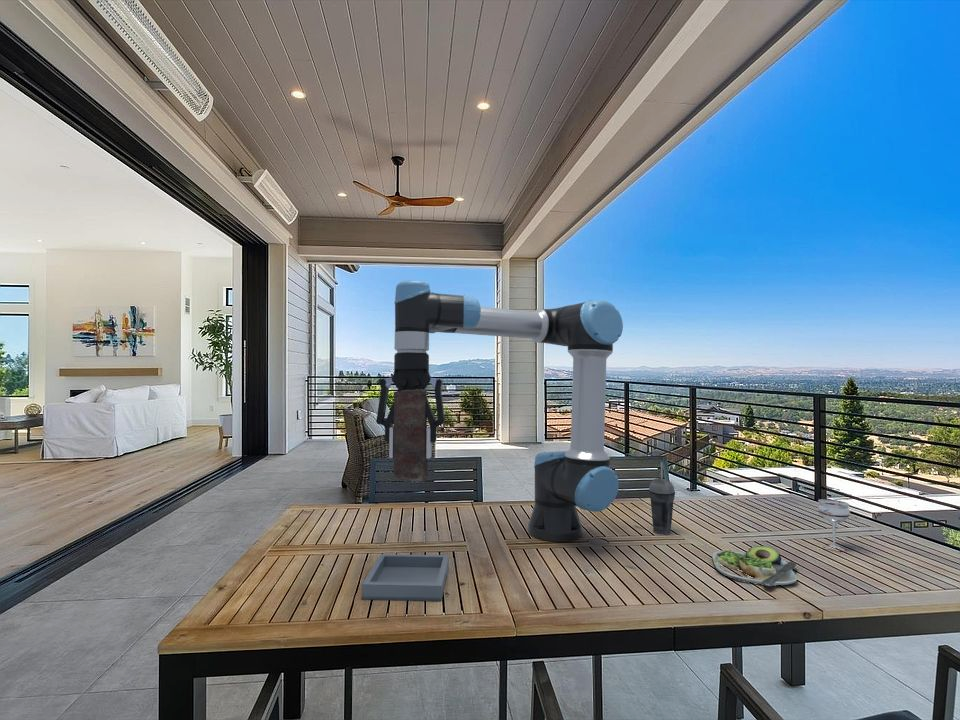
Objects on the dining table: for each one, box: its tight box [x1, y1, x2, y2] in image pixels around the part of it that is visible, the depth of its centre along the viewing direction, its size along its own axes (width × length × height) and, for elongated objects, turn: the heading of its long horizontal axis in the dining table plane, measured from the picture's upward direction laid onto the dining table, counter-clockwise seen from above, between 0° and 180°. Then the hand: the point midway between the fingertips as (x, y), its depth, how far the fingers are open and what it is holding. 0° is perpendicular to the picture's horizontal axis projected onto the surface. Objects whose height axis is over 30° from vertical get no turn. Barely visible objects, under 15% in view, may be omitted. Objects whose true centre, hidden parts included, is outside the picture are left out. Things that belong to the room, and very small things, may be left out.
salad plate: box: [711, 545, 798, 587], centre depth 109 cm, size 19×18×5 cm
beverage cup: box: [648, 461, 676, 536], centre depth 137 cm, size 7×7×20 cm
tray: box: [361, 553, 450, 602], centre depth 103 cm, size 16×16×3 cm
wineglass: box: [817, 498, 851, 548], centre depth 125 cm, size 7×7×12 cm
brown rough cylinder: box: [393, 388, 429, 483], centre depth 104 cm, size 8×7×20 cm
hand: (410, 457), depth 103 cm, fingers closed on brown rough cylinder, 7 cm apart
